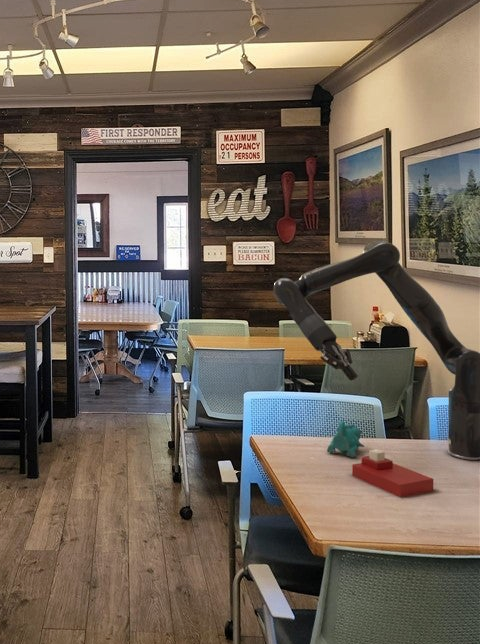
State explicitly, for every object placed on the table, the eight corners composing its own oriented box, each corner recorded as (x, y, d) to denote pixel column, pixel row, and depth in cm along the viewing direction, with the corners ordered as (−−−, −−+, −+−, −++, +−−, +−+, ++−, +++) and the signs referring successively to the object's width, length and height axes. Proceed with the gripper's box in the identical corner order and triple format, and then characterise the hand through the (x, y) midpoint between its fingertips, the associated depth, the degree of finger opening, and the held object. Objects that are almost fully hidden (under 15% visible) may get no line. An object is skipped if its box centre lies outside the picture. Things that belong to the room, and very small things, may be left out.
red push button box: (384, 470, 176) (384, 453, 176) (433, 491, 162) (433, 471, 162) (352, 475, 172) (352, 457, 172) (399, 497, 157) (400, 477, 157)
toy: (352, 466, 184) (381, 440, 191) (332, 430, 185) (361, 405, 193) (328, 466, 193) (356, 441, 200) (308, 431, 194) (337, 408, 202)
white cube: (376, 458, 173) (376, 449, 173) (384, 461, 171) (384, 452, 171) (369, 459, 172) (369, 450, 172) (377, 462, 170) (377, 453, 170)
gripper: (312, 325, 183) (350, 373, 173) (337, 322, 191) (375, 368, 181) (297, 341, 187) (333, 388, 177) (321, 337, 195) (357, 383, 185)
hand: (354, 378), depth 179 cm, fingers closed
